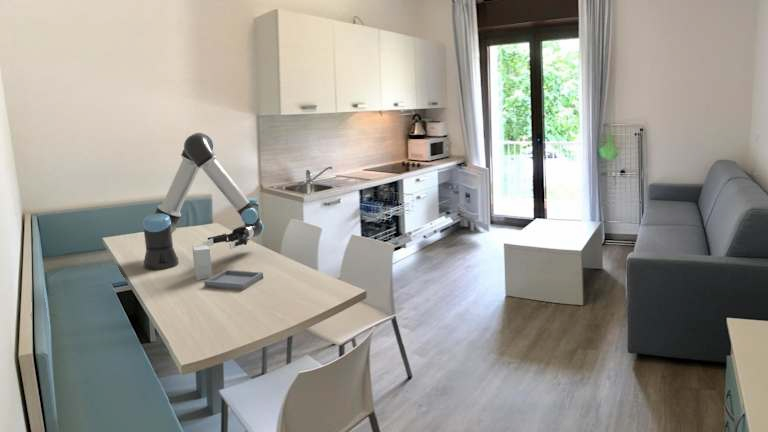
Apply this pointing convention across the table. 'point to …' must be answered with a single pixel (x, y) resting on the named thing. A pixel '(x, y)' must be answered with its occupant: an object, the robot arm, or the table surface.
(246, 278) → the tray
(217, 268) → the table surface
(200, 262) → the small box
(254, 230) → the robot arm
